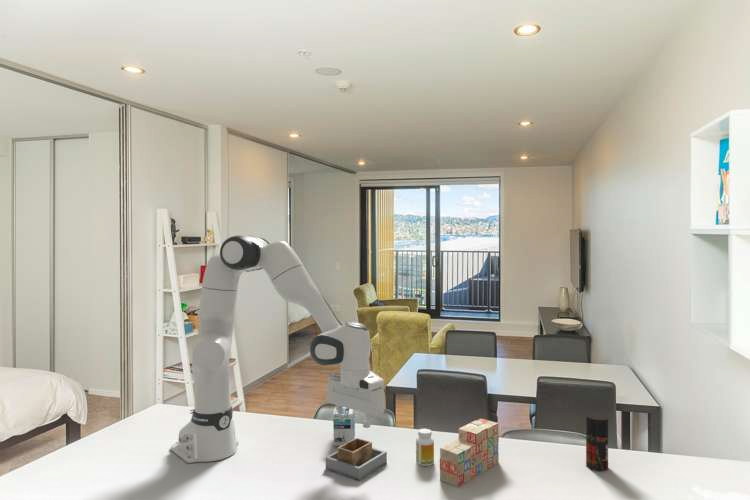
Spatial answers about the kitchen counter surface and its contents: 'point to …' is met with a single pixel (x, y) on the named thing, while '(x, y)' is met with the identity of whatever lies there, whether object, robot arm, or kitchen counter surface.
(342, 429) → the light bulb box
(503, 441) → the kitchen counter surface
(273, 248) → the robot arm
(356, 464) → the small crate
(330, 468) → the grey square tray
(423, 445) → the supplement bottle
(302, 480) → the kitchen counter surface
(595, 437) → the deodorant
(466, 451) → the stack of blocks
